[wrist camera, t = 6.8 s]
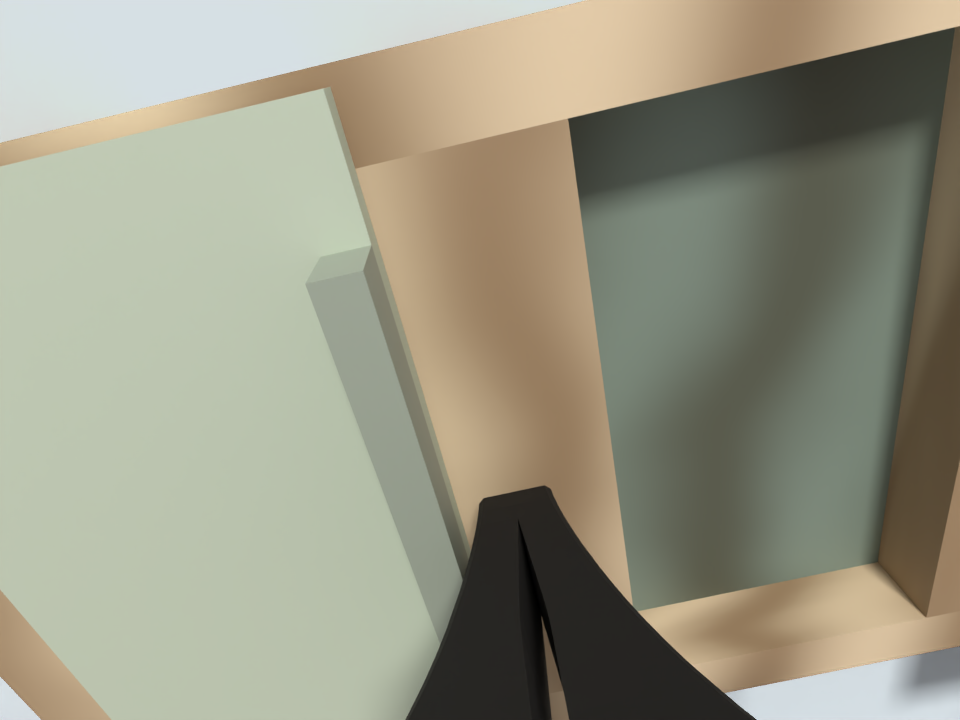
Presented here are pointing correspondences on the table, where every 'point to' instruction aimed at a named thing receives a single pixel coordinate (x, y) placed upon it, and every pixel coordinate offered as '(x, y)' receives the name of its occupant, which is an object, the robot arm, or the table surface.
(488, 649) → the robot arm
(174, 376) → the lid
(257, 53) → the table surface
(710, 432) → the wooden frame
